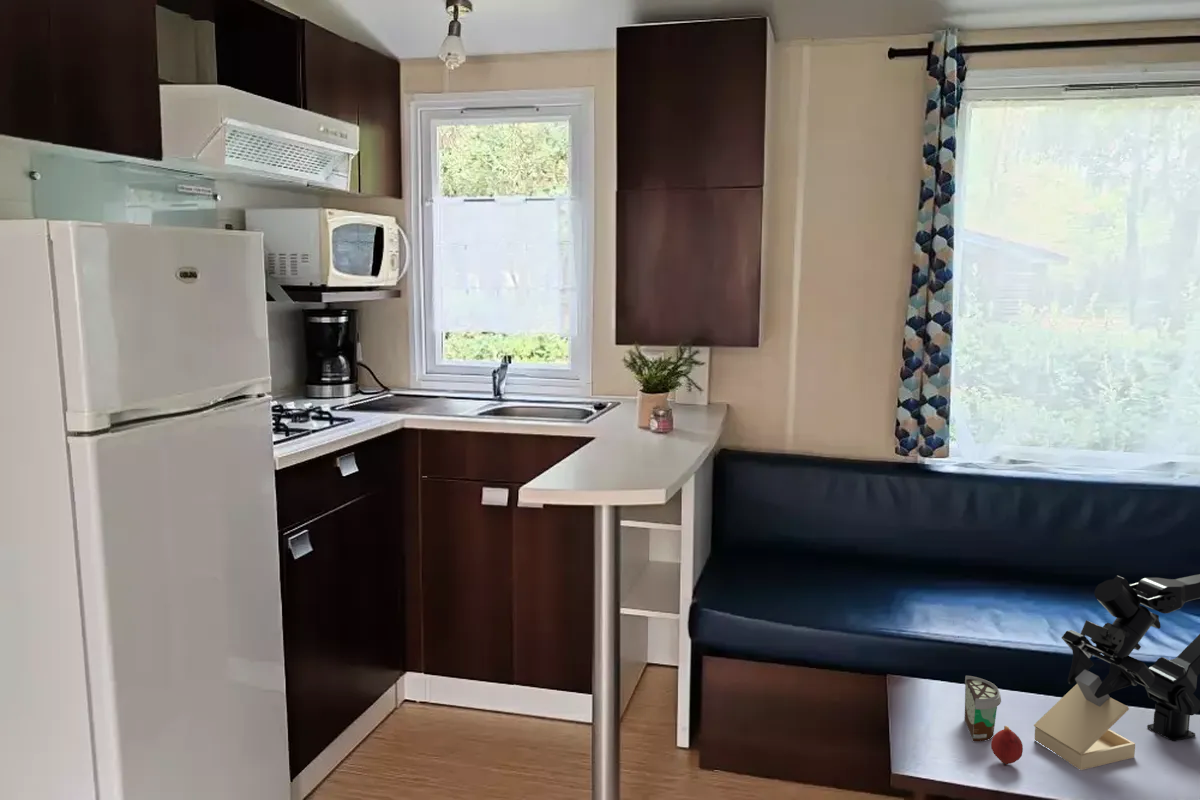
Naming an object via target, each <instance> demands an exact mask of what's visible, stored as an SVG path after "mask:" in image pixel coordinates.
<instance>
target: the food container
mask: <svg viewBox="0 0 1200 800" xmlns="http://www.w3.org/2000/svg"><path fill="white" fill-rule="evenodd" d="M964 679H965V680H964V685H965V686H964V687H965V688H964V691H965V693H964V722H965V725H966V728H967V731H968V730H969V731H968V733H969V736H970V735H971V736H970V738H971V741H972V742H973V741H974V742H976V743H977V742H978V743H979V742H980V743H981V742H986V741H985V740H987V741H989V740H988V739H990V738H991V737H992V736H994V735H995V734H994V732H995V726H996V718H997V717H996V716H997V710H998V706H1000V705H1001V703H1002V697H1001V693H1000V690H999V688H998V686H996V685H995V683H992V682H991V681H988V680H986V679H983V678H981V677H977V676H972V675H965V678H964ZM992 738H993V737H992ZM992 738H991V739H992ZM991 739H990V740H991Z"/></svg>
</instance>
